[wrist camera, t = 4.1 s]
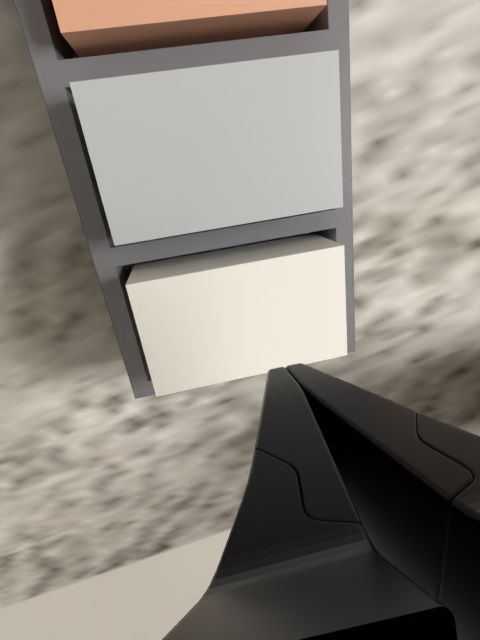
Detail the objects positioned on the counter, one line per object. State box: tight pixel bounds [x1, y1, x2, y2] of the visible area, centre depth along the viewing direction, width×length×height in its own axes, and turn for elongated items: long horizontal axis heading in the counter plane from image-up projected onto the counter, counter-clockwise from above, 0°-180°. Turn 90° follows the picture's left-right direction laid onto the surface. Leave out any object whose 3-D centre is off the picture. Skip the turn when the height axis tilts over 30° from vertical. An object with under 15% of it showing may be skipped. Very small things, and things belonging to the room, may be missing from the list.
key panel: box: [14, 0, 355, 399], centre depth 14 cm, size 18×10×4 cm, turn 8°
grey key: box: [69, 50, 343, 246], centre depth 12 cm, size 4×8×3 cm, turn 98°
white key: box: [125, 233, 347, 397], centre depth 14 cm, size 4×8×3 cm, turn 98°
